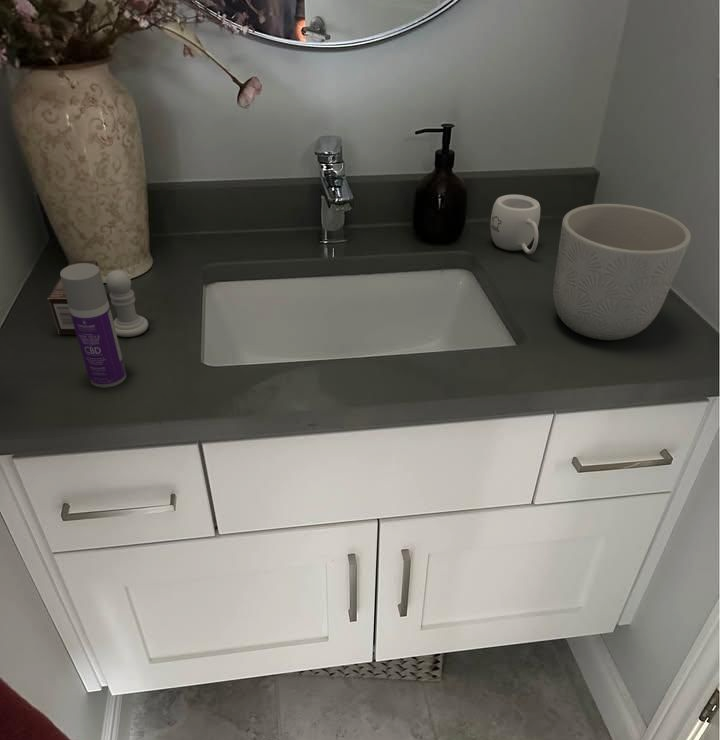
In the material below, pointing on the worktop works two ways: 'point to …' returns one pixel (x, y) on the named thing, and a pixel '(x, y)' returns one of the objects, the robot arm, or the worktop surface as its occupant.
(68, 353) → the worktop surface
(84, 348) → the container
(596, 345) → the worktop surface
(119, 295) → the chess piece
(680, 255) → the planter
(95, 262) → the box
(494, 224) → the mug
